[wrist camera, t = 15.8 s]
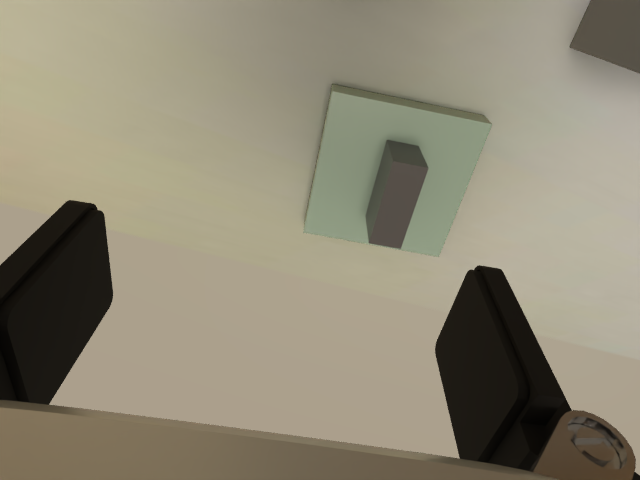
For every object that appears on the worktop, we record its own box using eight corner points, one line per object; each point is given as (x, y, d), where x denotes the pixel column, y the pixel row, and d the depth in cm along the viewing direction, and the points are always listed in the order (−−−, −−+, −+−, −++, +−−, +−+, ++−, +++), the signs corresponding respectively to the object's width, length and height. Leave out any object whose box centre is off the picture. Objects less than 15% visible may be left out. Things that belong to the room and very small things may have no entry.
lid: (332, 84, 36) (332, 107, 30) (484, 115, 37) (511, 144, 31) (304, 220, 42) (300, 261, 37) (434, 243, 43) (449, 287, 38)
